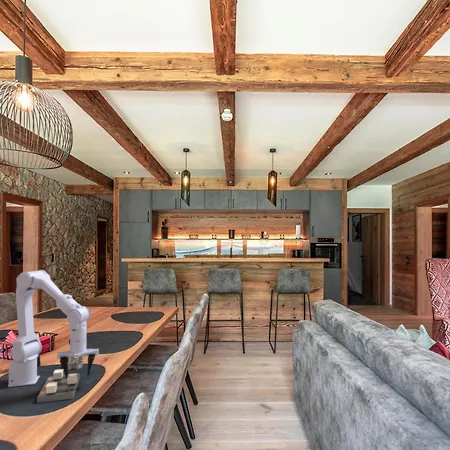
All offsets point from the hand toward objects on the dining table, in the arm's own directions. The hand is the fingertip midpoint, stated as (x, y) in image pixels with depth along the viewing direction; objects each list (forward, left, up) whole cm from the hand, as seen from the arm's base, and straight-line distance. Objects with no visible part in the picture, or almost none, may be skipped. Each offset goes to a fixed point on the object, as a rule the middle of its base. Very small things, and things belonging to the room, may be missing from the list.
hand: (77, 375), depth 135 cm
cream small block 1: (-8, -7, -2) cm, 10 cm away
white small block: (-8, +7, -2) cm, 10 cm away
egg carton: (-4, +26, -5) cm, 27 cm away
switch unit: (-6, 0, -5) cm, 8 cm away
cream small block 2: (-2, 0, -2) cm, 3 cm away
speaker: (-23, +28, -5) cm, 37 cm away
